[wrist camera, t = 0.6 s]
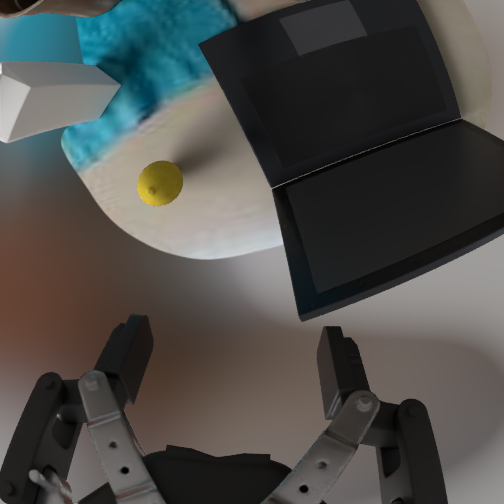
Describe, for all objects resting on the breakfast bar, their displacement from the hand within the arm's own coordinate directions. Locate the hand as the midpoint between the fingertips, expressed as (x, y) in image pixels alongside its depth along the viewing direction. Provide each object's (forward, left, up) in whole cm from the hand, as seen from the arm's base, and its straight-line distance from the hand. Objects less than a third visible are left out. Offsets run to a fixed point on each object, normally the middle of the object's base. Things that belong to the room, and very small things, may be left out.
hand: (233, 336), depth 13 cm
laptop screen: (-5, +16, -17) cm, 24 cm away
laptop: (-16, +10, -29) cm, 35 cm away
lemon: (+1, -11, -30) cm, 32 cm away
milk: (-11, -23, -30) cm, 39 cm away
